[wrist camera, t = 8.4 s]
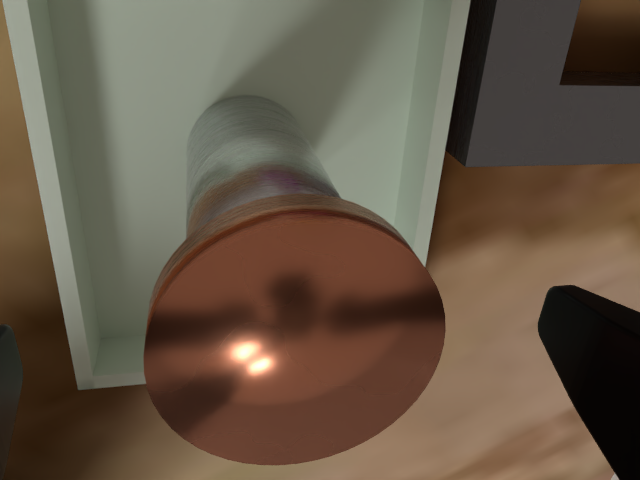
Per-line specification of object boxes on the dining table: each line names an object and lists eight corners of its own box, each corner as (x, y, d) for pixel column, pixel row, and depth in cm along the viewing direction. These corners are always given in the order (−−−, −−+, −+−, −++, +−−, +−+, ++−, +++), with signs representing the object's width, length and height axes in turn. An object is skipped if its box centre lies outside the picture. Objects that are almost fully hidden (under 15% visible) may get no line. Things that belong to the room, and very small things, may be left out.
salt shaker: (320, 221, 19) (422, 446, 10) (171, 228, 18) (157, 482, 10) (329, 75, 16) (469, 216, 8) (159, 72, 15) (127, 229, 7)
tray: (387, 317, 22) (409, 358, 20) (90, 340, 20) (77, 390, 18) (446, -100, 15) (488, -104, 13) (8, -136, 13) (-27, -149, 11)
